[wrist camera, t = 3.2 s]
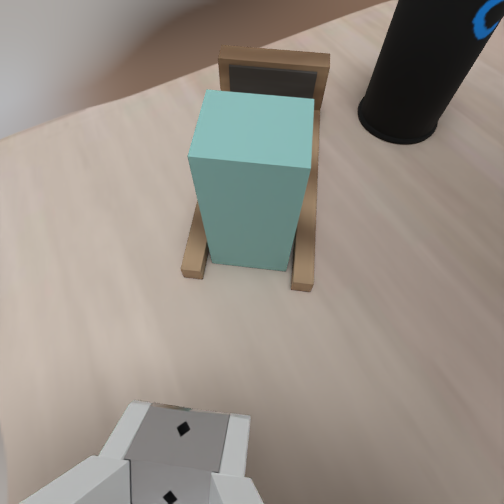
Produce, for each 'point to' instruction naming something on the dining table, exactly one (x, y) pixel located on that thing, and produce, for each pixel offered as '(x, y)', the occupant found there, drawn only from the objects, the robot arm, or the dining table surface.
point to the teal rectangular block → (251, 174)
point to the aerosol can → (424, 64)
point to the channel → (312, 87)
